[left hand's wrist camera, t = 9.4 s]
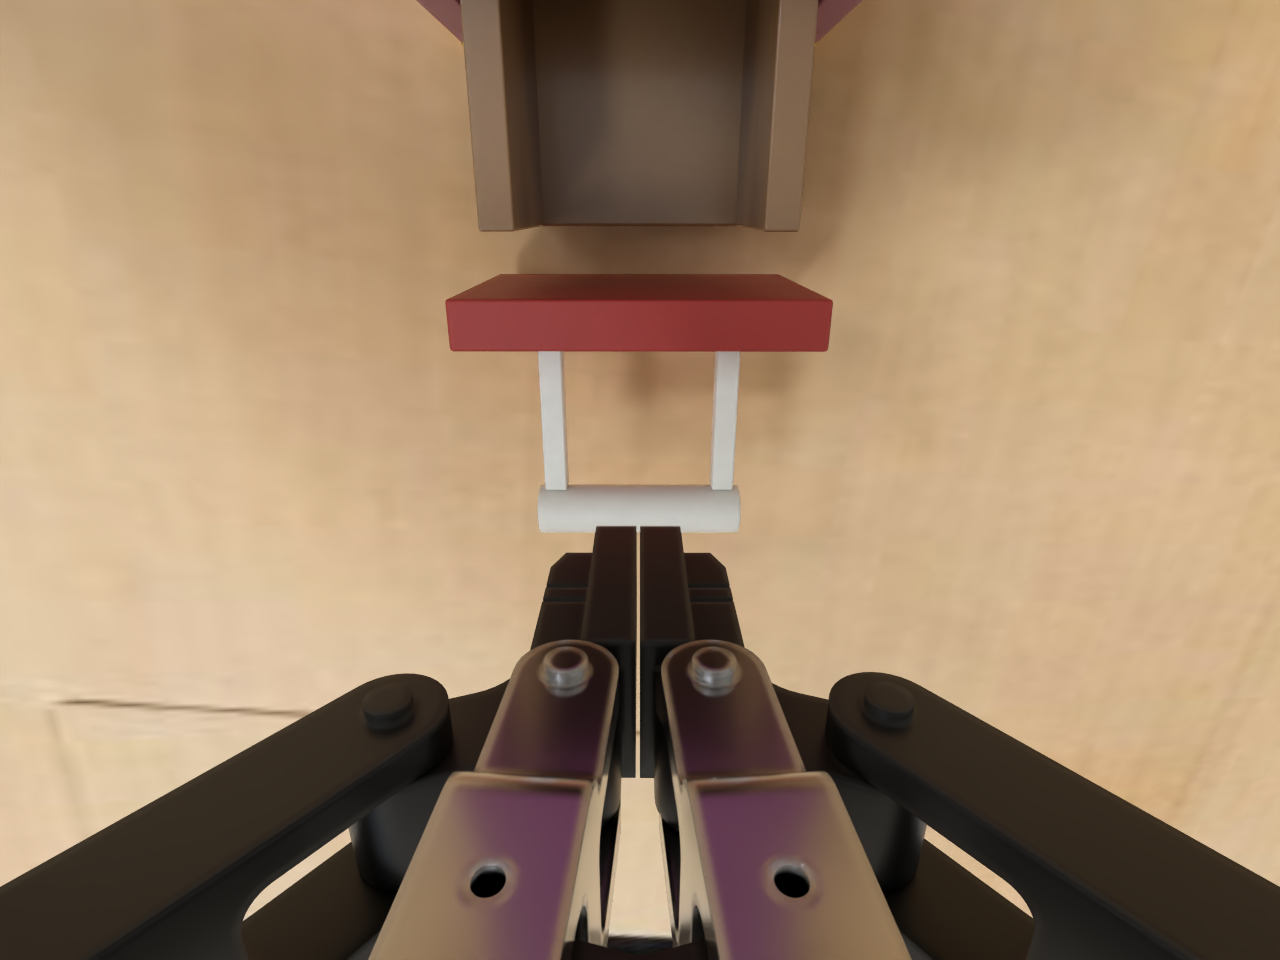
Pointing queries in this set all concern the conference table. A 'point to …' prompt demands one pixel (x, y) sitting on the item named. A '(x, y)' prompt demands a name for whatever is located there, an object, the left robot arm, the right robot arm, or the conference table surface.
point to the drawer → (639, 205)
